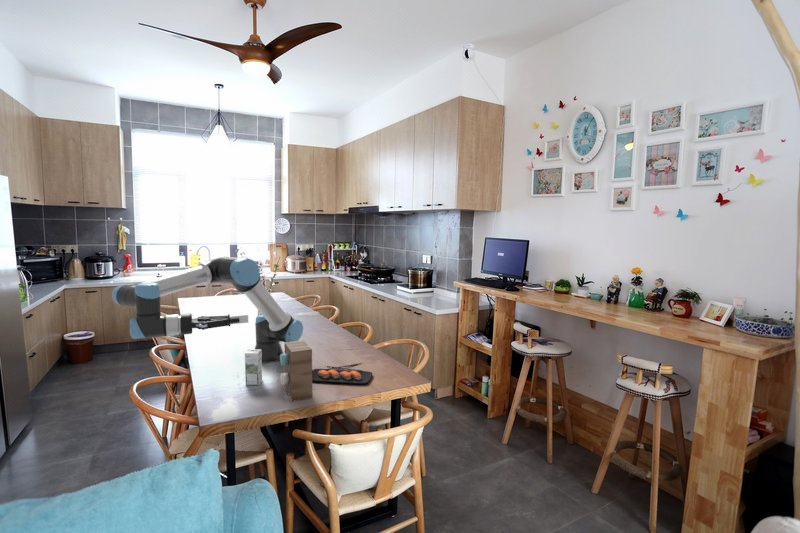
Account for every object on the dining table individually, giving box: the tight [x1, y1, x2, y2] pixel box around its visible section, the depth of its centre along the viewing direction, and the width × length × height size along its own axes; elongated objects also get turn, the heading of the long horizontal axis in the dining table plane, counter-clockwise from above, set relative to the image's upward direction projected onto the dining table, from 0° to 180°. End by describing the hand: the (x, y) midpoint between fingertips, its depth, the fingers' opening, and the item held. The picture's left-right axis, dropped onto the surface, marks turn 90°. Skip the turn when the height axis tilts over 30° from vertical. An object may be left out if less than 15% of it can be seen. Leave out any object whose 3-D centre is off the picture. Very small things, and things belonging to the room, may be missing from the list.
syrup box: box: [244, 348, 263, 386], centre depth 180 cm, size 6×6×14 cm
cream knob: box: [280, 372, 289, 386], centre depth 169 cm, size 5×10×5 cm, turn 116°
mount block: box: [283, 340, 313, 402], centre depth 169 cm, size 14×8×20 cm, turn 26°
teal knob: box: [280, 353, 289, 367], centre depth 168 cm, size 5×10×5 cm, turn 116°
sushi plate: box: [312, 362, 373, 385], centre depth 195 cm, size 29×30×4 cm
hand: (248, 318), depth 163 cm, fingers closed
